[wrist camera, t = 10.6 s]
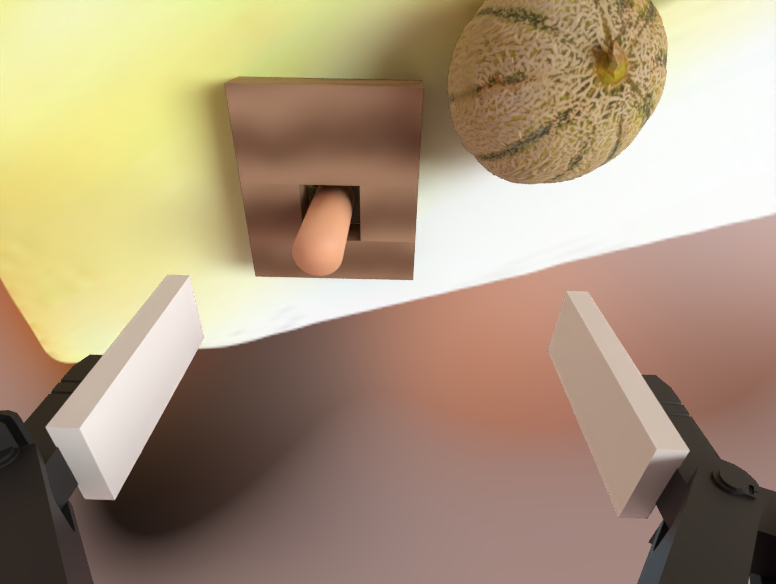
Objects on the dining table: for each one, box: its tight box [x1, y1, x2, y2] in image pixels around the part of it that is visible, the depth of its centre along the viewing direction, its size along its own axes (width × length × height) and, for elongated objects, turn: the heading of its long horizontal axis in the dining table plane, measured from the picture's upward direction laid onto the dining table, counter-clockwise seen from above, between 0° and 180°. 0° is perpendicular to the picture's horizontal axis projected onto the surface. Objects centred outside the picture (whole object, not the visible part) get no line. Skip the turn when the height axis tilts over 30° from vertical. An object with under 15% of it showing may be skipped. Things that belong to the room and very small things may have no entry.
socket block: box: [225, 77, 423, 280], centre depth 43 cm, size 18×16×4 cm
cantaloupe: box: [448, 0, 667, 184], centre depth 33 cm, size 15×15×15 cm
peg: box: [292, 185, 355, 276], centre depth 41 cm, size 4×4×12 cm
